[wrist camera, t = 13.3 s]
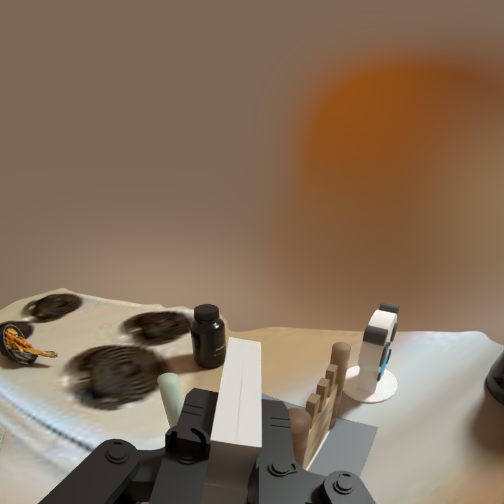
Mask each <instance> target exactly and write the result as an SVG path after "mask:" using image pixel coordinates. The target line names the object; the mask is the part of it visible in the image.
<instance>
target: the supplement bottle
mask: <svg viewBox="0 0 504 504" xmlns="http://www.w3.org/2000/svg"><path fill="white" fill-rule="evenodd" d="M194 319H195V320H193V322H192V323H191V326H190V328H191V338H192V347H193V355H194V361H195V362H196V364H197V365H199V366H201V367H204V368H215V367H219V366H221V365H222V364H223V363H224V362H225V358H226V340H225V325H224V322H223V321H222V320H221V319H220V318H219V309H218V307H217V306H215V305H211V304H204V305H199V306H197V307H196V308H194Z"/></svg>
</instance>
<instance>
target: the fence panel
mask: <svg viewBox="0 0 504 504" xmlns="http://www.w3.org/2000/svg"><path fill="white" fill-rule="evenodd" d="M158 384H159V388H160V392H161V396H162V400H163V404H164V407H165V411H166V415H167V418H168V422H169V425H170V428H172V427H174V426H175V425H177V422H178V419H179V416H180V413H181V410H182V407H183V404H184V402H183V397H182V393H181V388H180V383H179V377H178V376H177V375H176V374H174V373H164V374H162V375H160V376H159V377H158Z"/></svg>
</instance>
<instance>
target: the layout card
mask: <svg viewBox="0 0 504 504" xmlns="http://www.w3.org/2000/svg"><path fill="white" fill-rule="evenodd" d="M261 399H268V400H276V401H282V400H279V399H276V398H273V397H270V396H267V395H264V394H262V393H261ZM283 402H284V404H285V405H286V407H287V408H288V409H289V408H299V409H303V410H305V411H306V408H303V407H300V406H297V405H294V404H291V403H288V402H285V401H283ZM377 429H378V427H375V426H370V425H366V424H362V423H358V422H354V421H350V420H346V419H342V418H338V417H337V418H336V423H335V426H334V427H333V428H332V429H329V430H328V432H327V434H326V435H325V437H324V439H323V441H322V443H321V444H320V446H319V448H318V450H317V451H316V453H315V455H314V456H313V458H312V460H311V462H310V463H309V465H308V466H307V468H306V470H307V471H309V472H312V473H315V474H319V475H323V476H328V475H329V474H330V473H332V472H335V471H343V470H344V471H348V472H351V473H353V474H355V475H357V476H358V477H360V474H361V472H362V469H363V467H364V464H365V462H366V459H367V457H368V454H369V452H370V449H371V446H372V443H373V441H374V438H375V435H376V432H377ZM247 494H248V486H247V489H246V490H239V489H231V488H223V487H217V486H211V485H205V484H204V489H203V495H202V501H201V504H244V502H245V500H246V498H247ZM141 504H149V502H142V503H141Z"/></svg>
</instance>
